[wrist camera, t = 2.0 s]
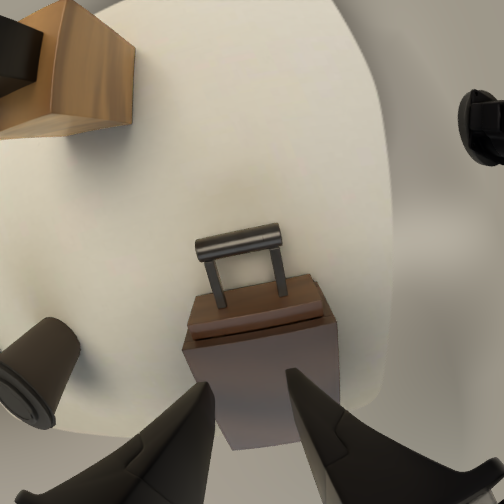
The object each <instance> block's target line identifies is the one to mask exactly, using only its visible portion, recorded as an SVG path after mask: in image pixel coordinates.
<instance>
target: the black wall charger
mask: <svg viewBox="0 0 504 504" xmlns="http://www.w3.org/2000/svg"><path fill="white" fill-rule="evenodd" d="M42 38H43V32H42V31H39V30H37V29H34V28H32V27H30V26H27V25H25V24H22V23H20V22H17V21H14V20H12V19H9V18H6V17H4V16H1V15H0V98H2V97H4V96H6V95H8V94H10V93H12V92H14V91H16V90H18V89H20V88H23V87H25V86H27V85H30V84H32V83H34V82H36V80H37V71H38V63H39V56H40V50H41V44H42Z"/></svg>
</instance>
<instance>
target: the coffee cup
mask: <svg viewBox="0 0 504 504" xmlns="http://www.w3.org/2000/svg"><path fill="white" fill-rule="evenodd" d="M80 351H81V349H80V343H79V341H78V339H77V337H76V335H75V334H74V333H73V331H72V330H71V329H70V328H69V327H68V326H67V325H66V324H64V323H63V322H61V321H60V320H58V319H55V318H52V317H48V318H45V319H43V320H42V321H40V322H39V323H38V324H36V325H35V326H34V327H33V328H31V329H30V330H29V331H27V332H26V333H25V334H24V335H22V336H21V337H20V338H19V339H17V340H16V341H15V342H14V343H13V344H11V345H10V346H9V347H8V348H6V349H5V350H4V351H3V352H2V353H0V402H1V403H2V404H3V405H4V406H5V407H6V408H7V409H8V410H9V411H10V412H11V413H12V414H14V415H15V416H16V417H18V418H19V419H21V420H22V421H24V422H25V423H27V424H29V425H31V426H33V427H35V428H38V429H43V430H46V429H49V428H52V427H53V426H55V425H56V418H55V416H54V414H55V411H56V409H57V406H58V404H59V401H60V399H61V396H62V394H63V391H64V389H65V387H66V384H67V382H68V380H69V377H70V375H71V373H72V371H73V368H74V366H75V364H76V362H77V360H78V357H79V355H80Z"/></svg>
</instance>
